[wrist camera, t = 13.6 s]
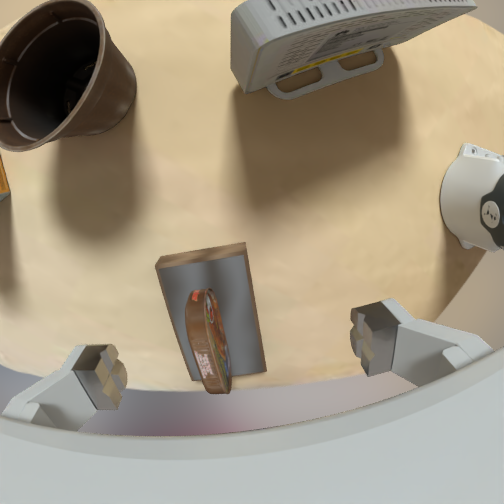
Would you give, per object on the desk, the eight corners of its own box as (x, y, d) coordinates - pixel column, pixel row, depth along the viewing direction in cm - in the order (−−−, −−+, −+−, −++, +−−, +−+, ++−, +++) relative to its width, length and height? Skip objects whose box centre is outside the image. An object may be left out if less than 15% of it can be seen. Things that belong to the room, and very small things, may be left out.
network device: (377, 14, 31) (452, -40, 12) (404, 62, 33) (494, 29, 15) (222, 62, 33) (217, -15, 14) (252, 116, 36) (275, 79, 17)
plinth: (245, 242, 41) (246, 251, 37) (264, 357, 47) (267, 373, 43) (160, 256, 41) (154, 266, 37) (193, 367, 47) (191, 382, 43)
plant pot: (39, 84, 30) (-29, 68, 15) (127, 22, 29) (81, -30, 14) (74, 170, 36) (2, 184, 20) (169, 108, 34) (130, 81, 19)
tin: (233, 366, 43) (234, 406, 35) (212, 368, 43) (210, 409, 35) (212, 276, 38) (207, 308, 30) (188, 279, 38) (178, 312, 30)
